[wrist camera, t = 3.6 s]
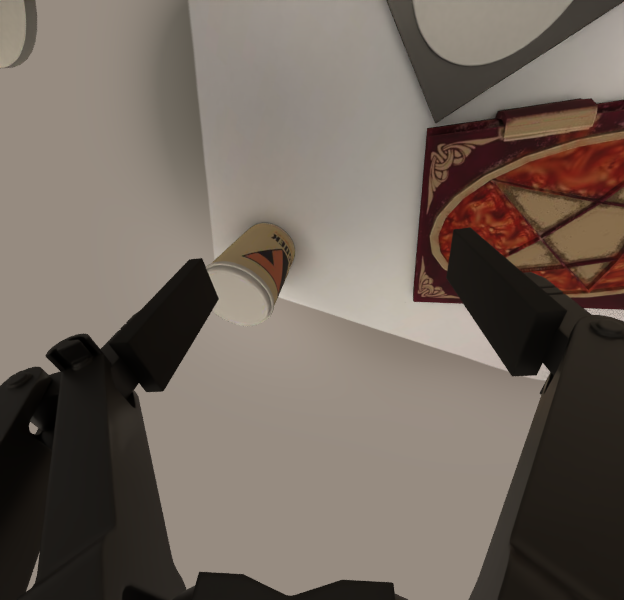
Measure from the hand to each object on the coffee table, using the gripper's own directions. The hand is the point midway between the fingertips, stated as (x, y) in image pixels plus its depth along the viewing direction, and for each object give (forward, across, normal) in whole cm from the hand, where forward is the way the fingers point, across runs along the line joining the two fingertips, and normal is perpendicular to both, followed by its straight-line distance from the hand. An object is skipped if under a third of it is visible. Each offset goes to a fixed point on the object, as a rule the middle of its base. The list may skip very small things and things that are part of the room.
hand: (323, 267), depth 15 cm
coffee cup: (+24, -10, -8) cm, 27 cm away
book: (+16, +24, -6) cm, 30 cm away
